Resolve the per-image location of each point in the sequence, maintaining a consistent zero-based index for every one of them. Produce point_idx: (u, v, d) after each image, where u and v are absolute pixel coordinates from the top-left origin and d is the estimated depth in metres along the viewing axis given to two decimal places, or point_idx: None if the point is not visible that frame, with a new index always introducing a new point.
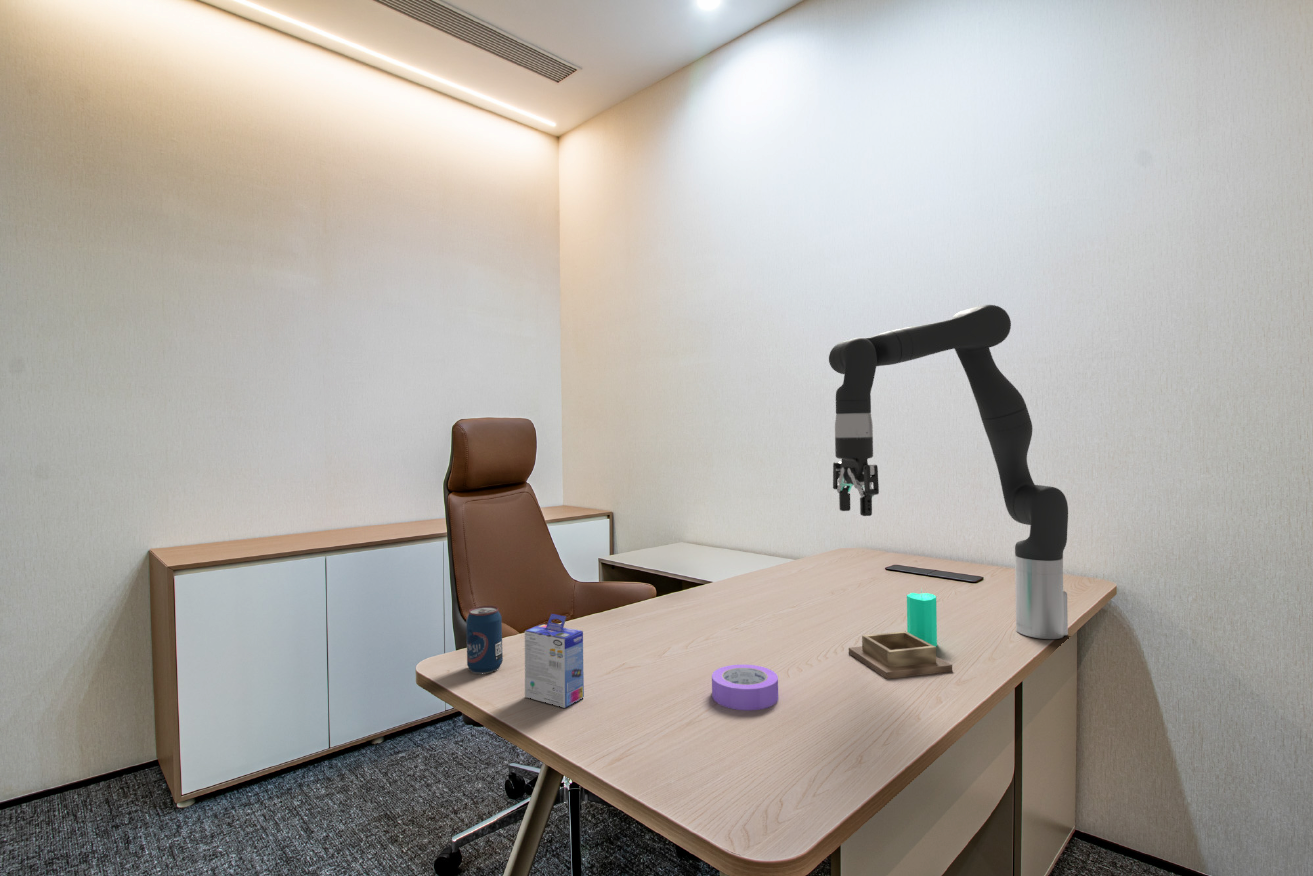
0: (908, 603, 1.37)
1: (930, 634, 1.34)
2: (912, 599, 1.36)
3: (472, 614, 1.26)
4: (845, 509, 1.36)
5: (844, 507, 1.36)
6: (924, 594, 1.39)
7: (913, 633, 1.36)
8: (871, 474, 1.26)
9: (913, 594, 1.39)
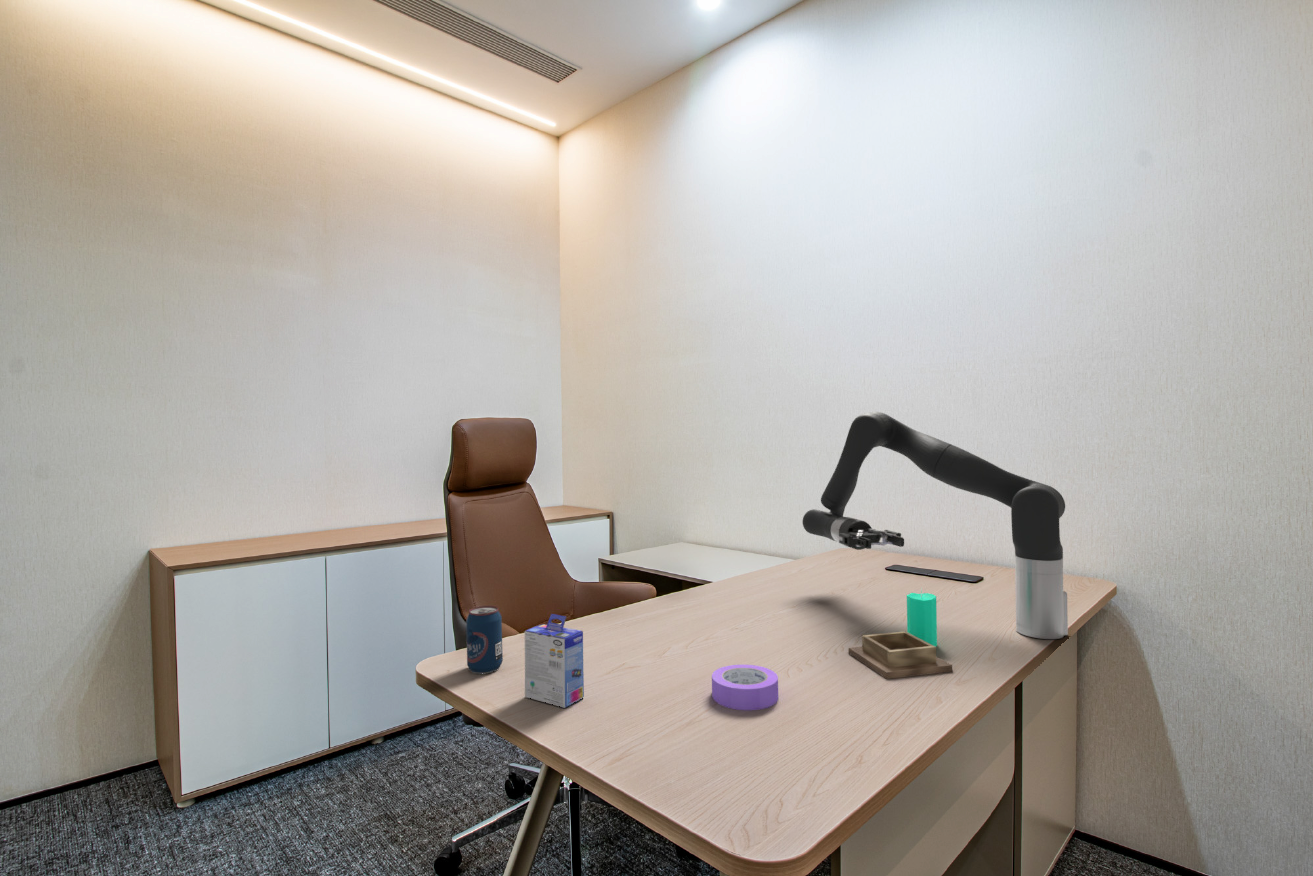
0: (908, 603, 1.37)
1: (930, 634, 1.34)
2: (912, 599, 1.36)
3: (472, 614, 1.26)
4: (900, 542, 1.51)
5: (899, 543, 1.51)
6: (924, 594, 1.39)
7: (913, 633, 1.36)
8: (842, 539, 1.57)
9: (913, 594, 1.39)
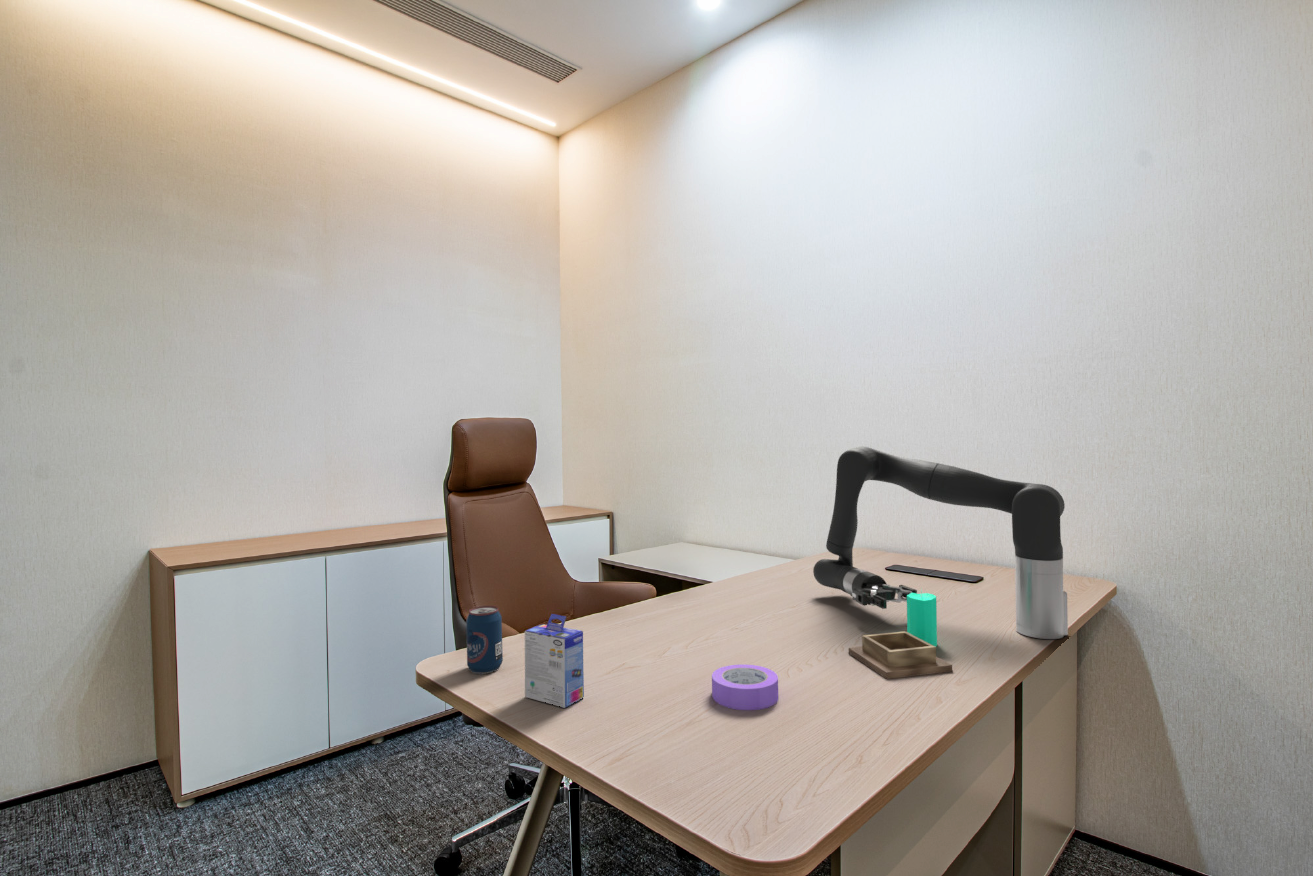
0: (908, 603, 1.37)
1: (930, 634, 1.34)
2: (912, 599, 1.36)
3: (472, 614, 1.26)
4: None
5: None
6: (924, 594, 1.39)
7: (913, 633, 1.36)
8: (855, 596, 1.51)
9: (913, 594, 1.39)
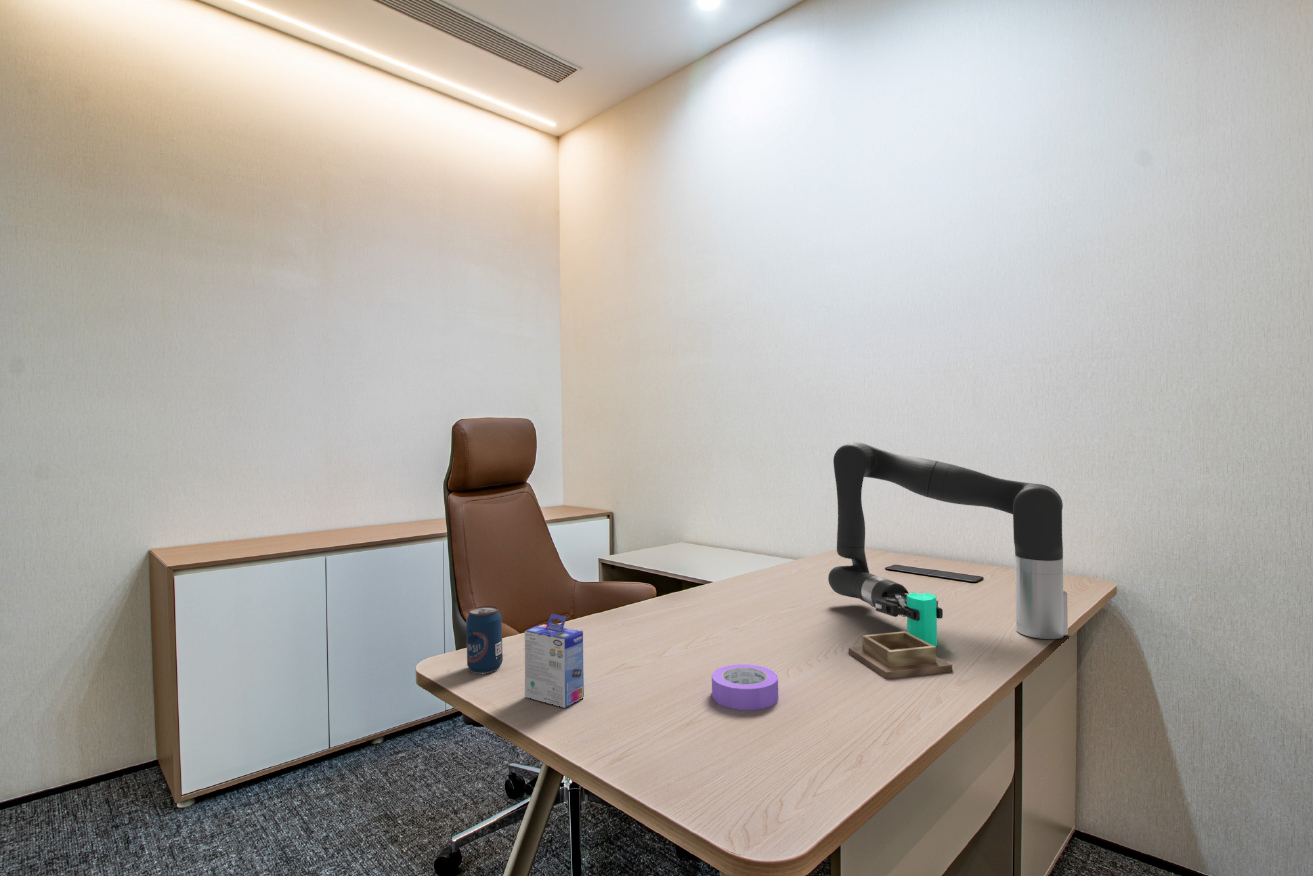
0: (908, 603, 1.37)
1: (930, 634, 1.34)
2: (912, 599, 1.36)
3: (472, 614, 1.26)
4: (938, 613, 1.35)
5: (937, 614, 1.36)
6: (924, 594, 1.39)
7: (913, 633, 1.36)
8: (881, 607, 1.41)
9: (913, 594, 1.39)
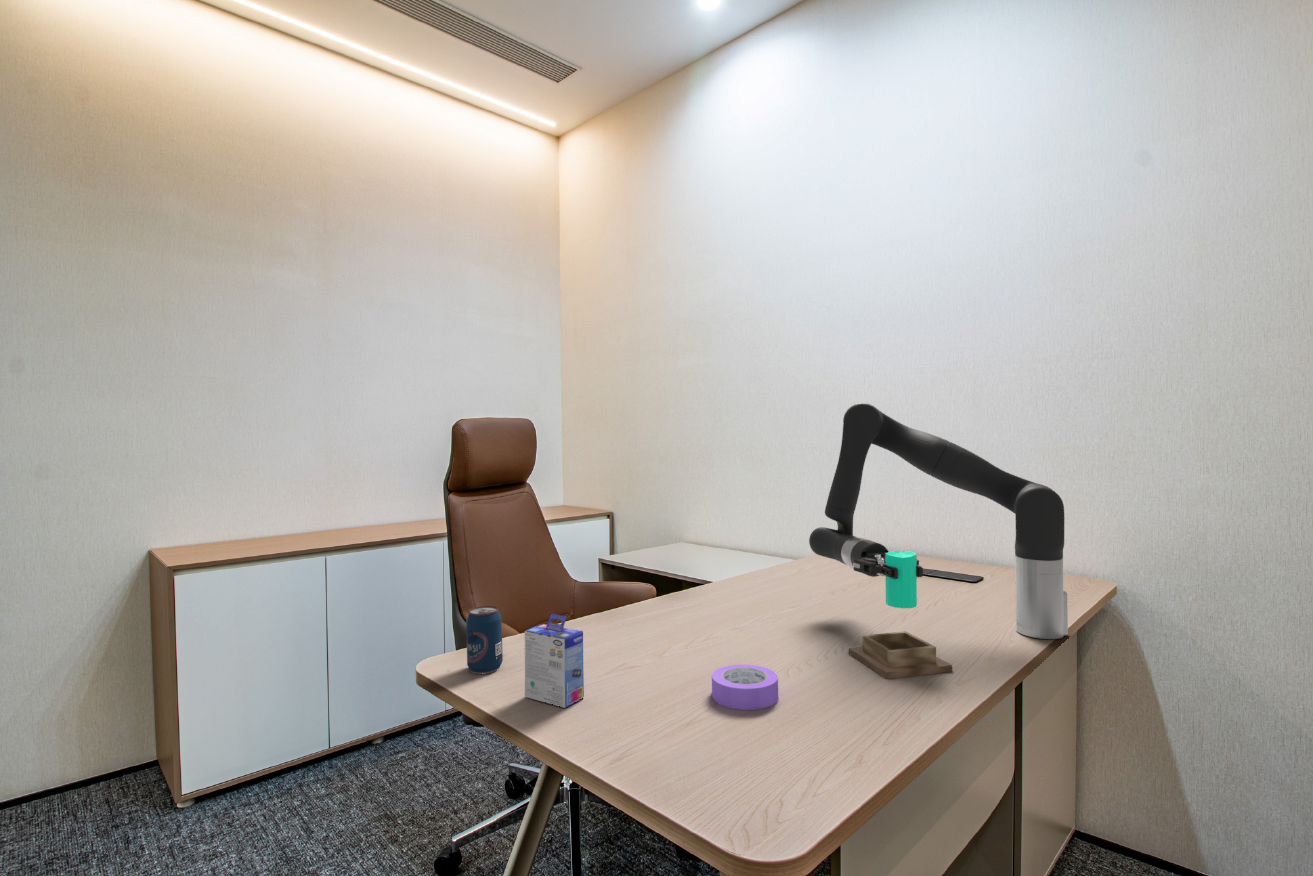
0: (886, 561, 1.30)
1: (909, 593, 1.27)
2: (890, 556, 1.29)
3: (472, 614, 1.26)
4: (918, 572, 1.28)
5: (917, 572, 1.29)
6: (904, 552, 1.32)
7: (891, 592, 1.29)
8: (859, 566, 1.34)
9: (892, 552, 1.32)
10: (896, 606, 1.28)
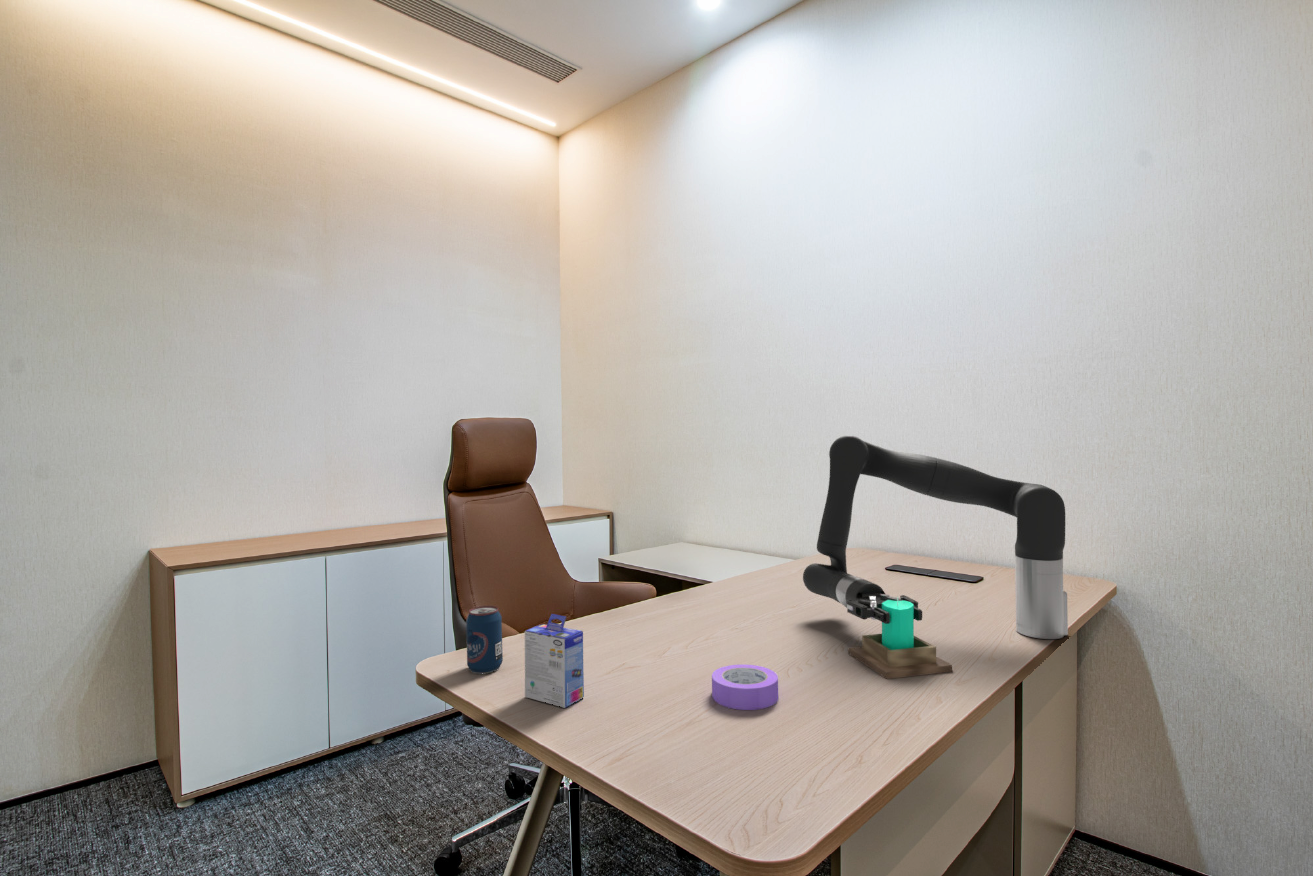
0: None
1: (906, 645, 1.24)
2: (887, 608, 1.25)
3: (472, 614, 1.26)
4: (917, 615, 1.26)
5: (916, 616, 1.26)
6: (901, 602, 1.29)
7: (888, 644, 1.26)
8: (852, 608, 1.31)
9: (889, 601, 1.29)
10: None
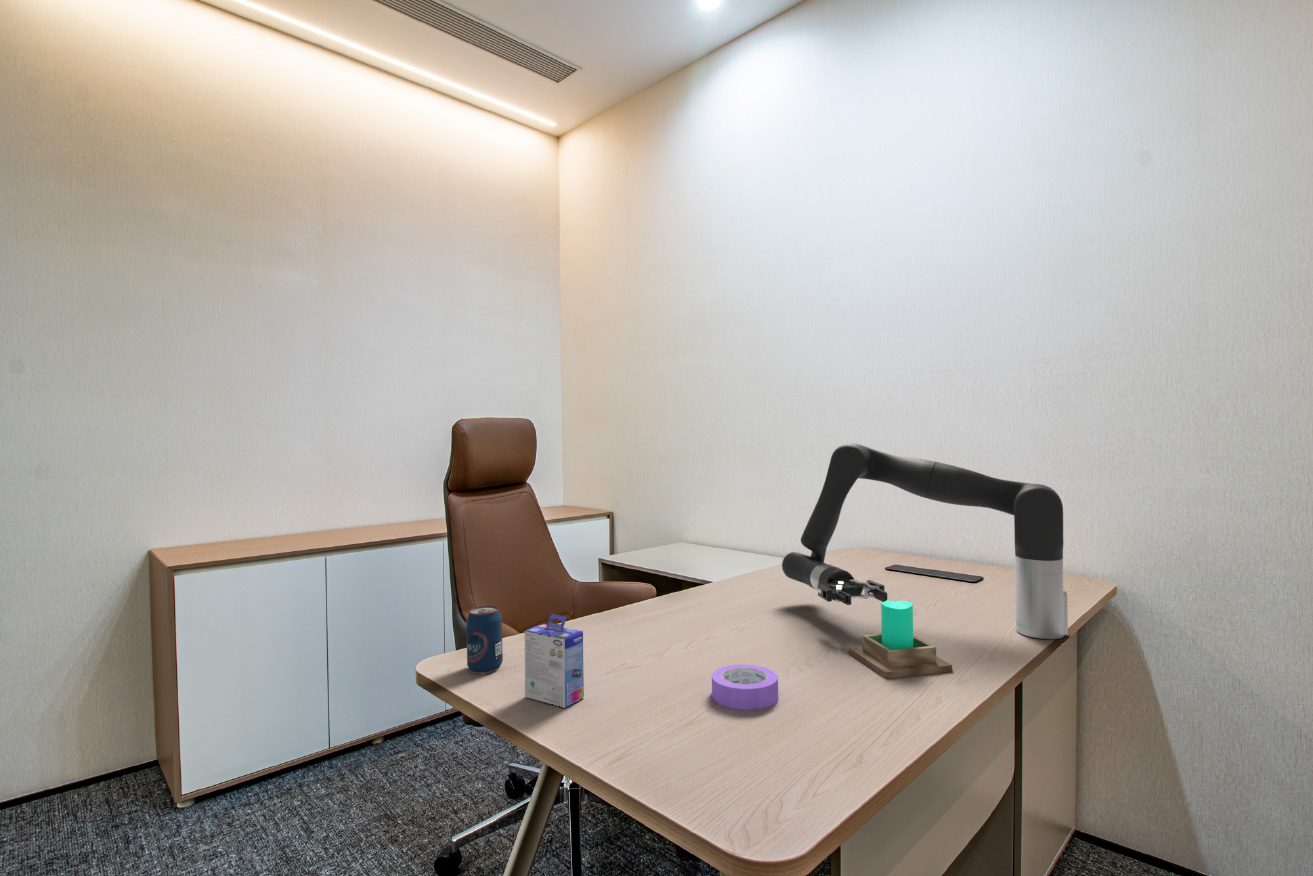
0: (882, 612, 1.27)
1: (906, 645, 1.24)
2: (887, 607, 1.26)
3: (472, 614, 1.26)
4: (883, 597, 1.39)
5: (882, 597, 1.39)
6: (900, 602, 1.29)
7: (888, 644, 1.26)
8: (820, 592, 1.45)
9: (888, 602, 1.29)
10: None
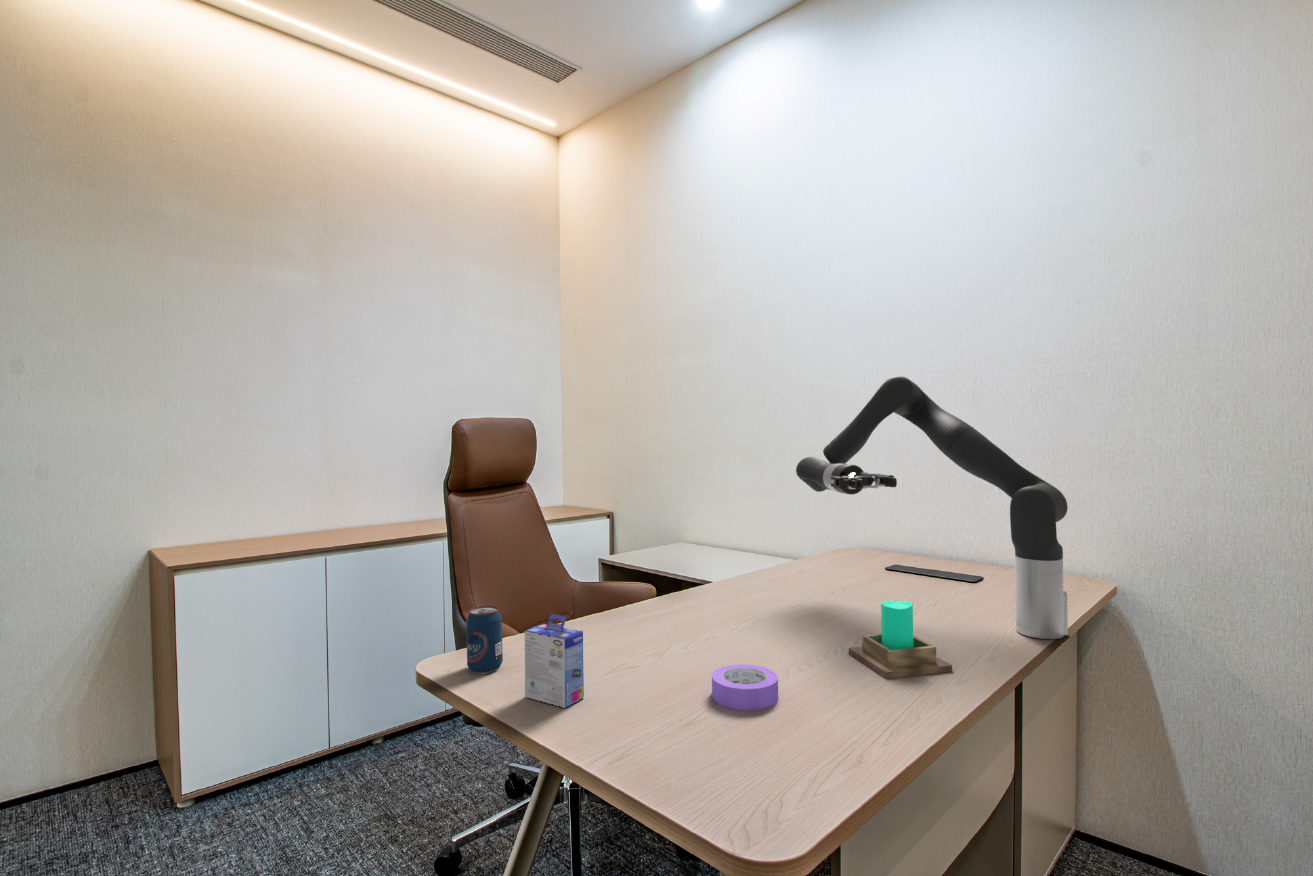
0: (882, 612, 1.27)
1: (906, 645, 1.24)
2: (887, 607, 1.26)
3: (472, 614, 1.26)
4: (892, 483, 1.48)
5: (891, 483, 1.49)
6: (900, 602, 1.29)
7: (888, 644, 1.26)
8: (833, 482, 1.54)
9: (888, 602, 1.29)
10: None
